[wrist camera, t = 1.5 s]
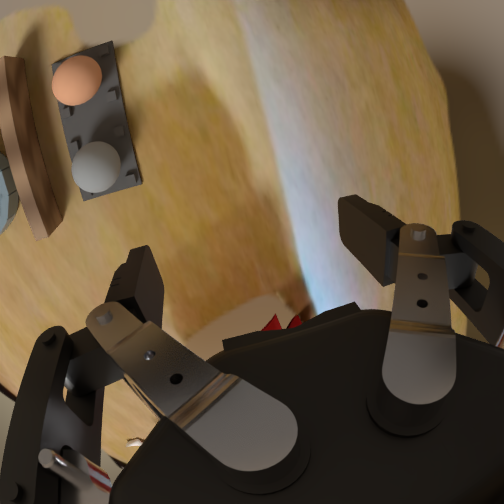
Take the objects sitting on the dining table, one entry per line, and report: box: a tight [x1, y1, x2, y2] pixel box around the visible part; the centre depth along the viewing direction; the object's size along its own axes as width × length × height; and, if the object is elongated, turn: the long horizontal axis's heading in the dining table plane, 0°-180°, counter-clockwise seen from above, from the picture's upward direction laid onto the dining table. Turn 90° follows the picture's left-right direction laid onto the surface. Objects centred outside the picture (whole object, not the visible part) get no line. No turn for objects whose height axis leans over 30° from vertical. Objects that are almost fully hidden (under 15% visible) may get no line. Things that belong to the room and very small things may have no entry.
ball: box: [52, 55, 102, 106], centre depth 21 cm, size 5×5×5 cm
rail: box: [0, 56, 63, 241], centre depth 23 cm, size 20×2×4 cm, turn 8°
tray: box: [52, 41, 142, 201], centre depth 25 cm, size 16×7×1 cm, turn 8°
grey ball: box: [72, 141, 121, 193], centre depth 25 cm, size 5×5×5 cm
